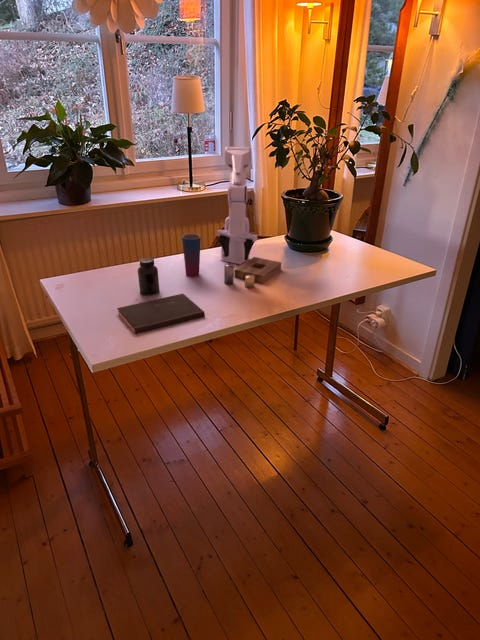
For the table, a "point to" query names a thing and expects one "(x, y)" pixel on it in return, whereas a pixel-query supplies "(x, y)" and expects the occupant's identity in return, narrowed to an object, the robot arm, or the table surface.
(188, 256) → the cup
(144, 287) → the supplement bottle
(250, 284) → the short brass peg
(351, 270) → the table surface
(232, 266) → the long steel peg
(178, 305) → the hardcover book
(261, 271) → the walnut board
